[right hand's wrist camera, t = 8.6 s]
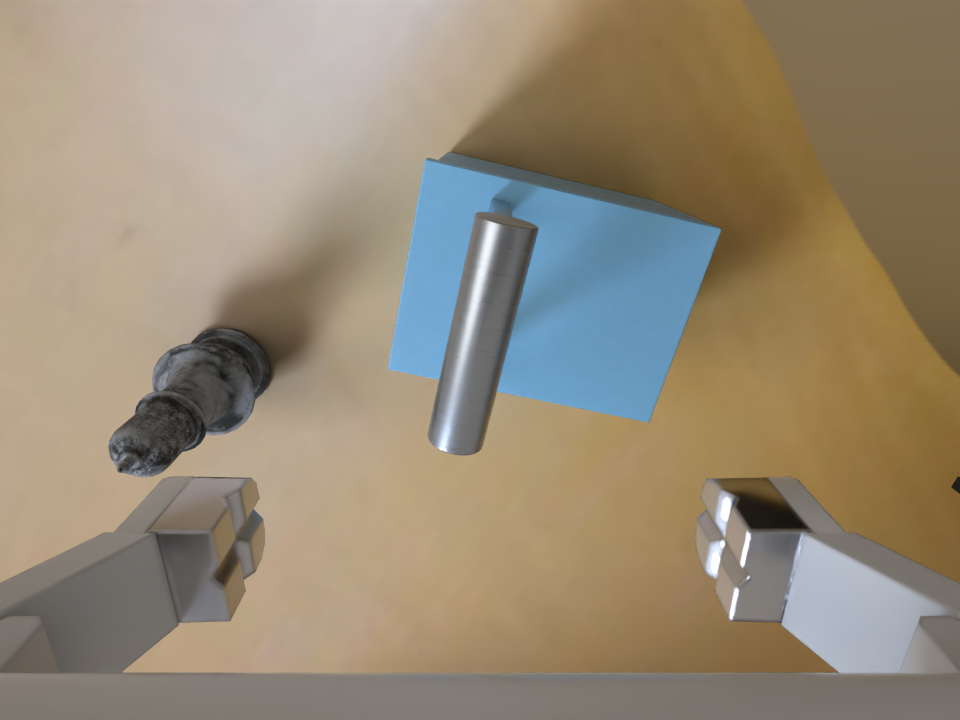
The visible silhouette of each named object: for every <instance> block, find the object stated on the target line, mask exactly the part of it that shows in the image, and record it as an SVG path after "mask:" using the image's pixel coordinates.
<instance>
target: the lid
mask: <svg viewBox="0 0 960 720" xmlns="http://www.w3.org/2000/svg"><path fill="white" fill-rule="evenodd" d="M720 233H721V228H719V227H716V226H714V225H711V224H707V223H702V222H698V221H694V220H690V219H685V218H681V217H677V216H673V215H668V214H664V213H660V212H656V211H652V210H647V209H643V208H639V207H635V206H630V205H626V204H622V203H618V202H613V201H609V200H605V199H601V198H596V197H592V196H588V195H584V194H579V193H575V192H571V191H567V190H562V189H558V188H554V187H550V186H545V185H541V184H537V183H533V182H528V181H524V180H520V179H516V178H511V177H507V176H503V175H499V174H494V173H490V172H486V171H482V170H478V169H473V168H469V167H465V166H461V165H456V164H452V163H448V162H444V161H439V160H435V159H431V158H427V159H426V160H425V164H424V170H423V175H422V181H421V187H420V192H419V198H418V204H417V209H416V215H415V220H414V226H413V232H412V237H411V243H410V248H409V254H408V260H407V265H406V271H405V277H404V282H403V288H402V293H401V299H400V305H399V310H398V316H397V321H396V327H395V333H394V338H393V344H392V350H391V355H390V361H389V366H388V369H390V370H395V371H400V372H405V373H409V374H414V375H419V376H424V377H429V378H434V379H439V384H438V388H437V393H436V398H435V402H434V407H433V412H432V416H431V421H430V425H429V430H428V438H429V441H430V442H431V443H432V444H433V445H434V446H435V447H437V448H438V449H440V450H442V451H444V452H447V453H451V454H455V455H471V454H475V453H477V452H479V451H480V450H481V448H482V447H483V443H484V439H485V435H486V431H487V428H488V424H489V420H490V416H491V412H492V408H493V404H494V401H495V397H496V393H497V392H502V393H507V394H512V395H517V396H522V397H527V398H532V399H537V400H542V401H546V402H551V403H556V404H561V405H566V406H571V407H576V408H581V409H586V410H590V411H595V412H600V413H605V414H610V415H615V416H620V417H625V418H630V419H635V420H639V421H644V422H649V421H650V418H651V415H652V413H653V410H654V408H655V405H656V402H657V400H658V397H659V394H660V392H661V389H662V386H663V384H664V381H665V378H666V376H667V373H668V370H669V368H670V365H671V363H672V360H673V357H674V355H675V352H676V349H677V347H678V344H679V341H680V339H681V336H682V333H683V331H684V328H685V325H686V323H687V320H688V317H689V315H690V312H691V310H692V307H693V304H694V302H695V299H696V296H697V294H698V291H699V288H700V286H701V283H702V280H703V278H704V275H705V272H706V270H707V267H708V264H709V262H710V259H711V257H712V254H713V251H714V249H715V246H716V243H717V241H718V238H719V235H720Z"/></svg>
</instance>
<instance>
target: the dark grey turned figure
mask: <svg viewBox="0 0 960 720" xmlns="http://www.w3.org/2000/svg"><path fill="white" fill-rule="evenodd" d="M269 378H270V366H269V363H268V360H267V357H266V355H265V353H264V352H263V350H262V349H261V347H260V346H259V345H258V344H257V343H256V342H255V341H254V340H253V339H251V338H250V337H248V336H247V335H245V334H243V333H241V332H238V331H235V330H232V329H224V328H218V329H212V330H208V331H206V332H204V333H202V334H200V335H199V336H197V337H196V338H195V339H194V340H193V341H192V342H191V343H190V344H183V345H179V346H177V347H175V348H173V349H171V350H169V351H168V352H166V353H165V354H164V355H163V356H162V357H161V358H160V359H159V361H158V363H157V364H156V366H155V368H154V372H153V377H152V385H153V392H152V393H150V394H148V395H146V396H145V397H144V398H143V399H141V400H140V401H139V403H138V405H137V407H136V411H135V415H134V416H133V417H132V418H131V419H129V420H128V421H127V422H126V423H125V424H123V425H122V426H121V427H120V428H119V429H117V430H116V431H115V432H114V434H113V435H112V437H111V439H110V441H109V453H110V457H111V459H112V461H113V462H114V464H115V465H116V467H117V471H118V472H119V473H127V474H129V475H132V476H137V477H151V476H155V475H157V474H160V473H161V472H163V471H164V470H165V469H167V468H168V467H169V466H170V465H171V464H172V462H173V461H174V460H175V459H176V458H177V457H178V456H179V455H180V454H181V453H182V452H184V451H188V450H191V449H193V448H195V447H196V446H198V445H199V444H200V443H201V442H202V440H203V439H204V437H205V435H219V434H226V433H228V432H231V431H233V430H236V429H237V428H239V427H240V426H241V425H242V424H244V423H245V422H246V421H247V419H248V418H249V416H250V414H251V413H252V411H253V407H254V403H255V399H256V398H258V397H259V396H260V395H261V394H262V393H263V392H264V390H265V388H266V387H267V385H268V382H269Z"/></svg>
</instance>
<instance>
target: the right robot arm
mask: <svg viewBox="0 0 960 720" xmlns="http://www.w3.org/2000/svg"><path fill="white" fill-rule="evenodd" d="M258 500H259V494H258V489H257V484H256V482H255V481H254V480H253V479H252V478H232V477H168V478H164V479H162V480H161V481H160V483H159V484H158V485H157V486H156V487H155V488H154V489H153V490H152V491H151V492H150V493H149V495H148V496H147V497H146V498H145V499H144V500H143V501H142V502H141V503H140V504H139V505H138V507H137V508H136V509H135V510H134V511H133V512H132V513H131V514H130V515H129V516H128V517H127V519H126V520H125V521H124V522H123V523H122V524H121V525H120V526H119V527H118V528H117V529H116V531H115V532H114V533H103V534H101V535H99V536H96V537H94V538H92V539H90V540H88V541H86V542H84V543H82V544H80V545H78V546H76V547H74V548H72V549H70V550H67V551H65V552H63V553H61V554H59V555H57V556H55V557H53V558H51V559H49V560H47V561H45V562H43V563H41V564H38V565H36V566H34V567H32V568H30V569H28V570H26V571H24V572H22V573H20V574H18V575H16V576H14V577H11V578H9V579H7V580H5V581H3V582H1V583H0V720H960V583H959V582H957V581H954V580H952V579H950V578H948V577H946V576H944V575H942V574H940V573H938V572H936V571H934V570H932V569H930V568H928V567H926V566H923V565H921V564H919V563H917V562H915V561H913V560H911V559H909V558H907V557H905V556H903V555H901V554H899V553H897V552H895V551H892V550H890V549H888V548H886V547H884V546H882V545H880V544H878V543H876V542H874V541H872V540H870V539H868V538H866V537H864V536H861V535H859V534H857V533H846V532H845V531H844V529H843V528H842V527H841V526H840V525H839V524H838V523H837V522H836V521H835V520H834V519H833V517H832V516H831V515H830V514H829V513H828V512H827V511H826V510H825V509H824V508H823V507H822V505H821V504H820V503H819V502H818V501H817V500H816V499H815V498H814V497H813V496H812V495H811V493H810V492H809V491H808V490H807V489H806V488H805V487H804V486H803V485H802V484H801V483H800V481H799V480H798V479H796V478H793V477H791V476H783V477H762V478H719V479H706V481H705V483H704V485H703V488H702V493H701V500H702V502H703V503H704V505H705V507H706V508H707V509H706V510H705V511H704V512H703V513H702V514H701V515H700V516H699V517H698V518H697V523H696V530H695V542H696V551H697V554H698V558H699V561H700V563H701V565H702V567H703V570H704V572H706V573H707V574H708V575H710V576H711V577H713V578H714V579H716V584H715V590H714V591H715V593H716V595H717V597H718V599H719V601H720V603H721V605H722V607H723V609H724V611H725V613H726V615H727V616H728V618H729V620H730V621H743V622H779V623H782V624H781V625H782V626H783V627H784V628H786V629H787V630H788V631H789V632H790V633H792V634H793V635H794V636H795V637H797V638H798V639H799V640H800V641H801V642H803V643H804V644H805V645H806V646H807V647H809V648H810V649H811V650H812V651H814V652H815V653H816V654H817V655H818V656H820V657H821V658H822V659H823V660H824V661H826V662H827V663H828V664H829V665H831V666H832V667H833V668H834V669H835V670H837V671H838V672H839V673H121V672H122V671H124V670H125V669H126V668H127V667H128V666H130V665H131V664H132V663H133V662H134V661H136V660H137V659H138V658H139V657H141V656H142V655H143V654H144V653H145V652H147V651H148V650H149V649H150V648H152V647H153V646H154V645H155V644H156V643H158V642H159V641H160V640H161V639H162V638H164V637H165V636H166V635H167V634H169V633H170V632H171V631H172V630H173V629H175V628H176V627H177V626H178V625H179V624H178V623H181V622H216V621H230V620H231V619H232V617H233V615H234V613H235V611H236V609H237V607H238V605H239V603H240V601H241V599H242V597H243V595H244V593H245V591H246V590H245V584H244V579H246V578H247V577H249V576H250V575H252V574H253V573H254V572H256V570H257V567H258V565H259V563H260V561H261V558H262V554H263V549H264V545H265V528H264V522H263V518H262V517H261V516H260V515H259V514H258V513H257V512H256V511H255V510H254V509H253V508H254V507H255V505H256V503H257V502H258Z"/></svg>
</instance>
